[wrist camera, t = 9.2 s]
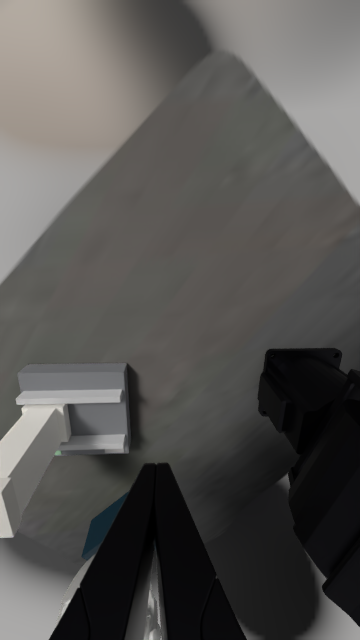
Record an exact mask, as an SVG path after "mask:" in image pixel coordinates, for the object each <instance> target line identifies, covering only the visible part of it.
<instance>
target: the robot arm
mask: <svg viewBox="0 0 360 640" xmlns="http://www.w3.org/2000/svg"><path fill="white" fill-rule="evenodd" d="M273 353H274V356H273V357H270V356H271V354H273ZM335 353H336V355H335V356H333V355H334V354H335ZM341 358H342V352H341V351H340V350H338V349H336V348H306V349H269V350H268V351H267V352H266V354H265V362H264V369H263V373H262V374H261V376H260V383H259V391H258V400H259V408H258V411H259V413H260V414H261V415H262V416H268V417H269V418H270V420H271V422H272V423H273V425H274V426H275V428H276V430H277V431H278V432H279V433H284V434H285V435H286V437H287V438H288V440H289V441H290V443H291V445H292V446H293V448H294V449H295V451H296V452H297V454H302V455H301V456H300V458H299V460H298V461H297V463H296V465H295V466H294V467H292V468H291V469H290V471H289V473H288V476H289V482H290V487H291V488H290V489H289V506H290V509H291V512H292V515H293V519H294V521H295V525H294V526H293V529H294V532H295V534H296V536H297V538H298V540H299V541H300V543H301V545H302V547H303V548H304V550H305V552H306V553H307V555H308V556H309V557H310V559H311V560H312V562H313V563H314V564H315V566H316V567H317V569H318V570H319V571H320V572H321V573H322V574H323V575H324V576H325V578H326V579H327V580H326V581H325V583H324V584H323V585H322V589H323V592H324V593H325V595H326V596H327V597H328V598H329V599H331V600H332V601H333V602H334V603H335V604H336V605H338V606H339V607H340V608H341V609H342V610H343V611H345V612H346V613H347V614H348V615H349V616H350V617H351V618H352V619H353V620H354V621H355V622H356V623H357V625H358V626H359V627H360V371H357V370H354V369H351V370H350V371H349V373H348V375H347V374H345V373H344V372H343V371H341V370H340V369H339V366H340V362H341ZM263 410H265V411H263ZM155 547H156V564H157V576H158V592H159V607H160V621H161V636H162V640H247V639H246V637H245V635H244V633H243V631H242V629H241V627H240V625H239V623H238V621H237V619H236V617H235V614H234V612H233V610H232V608H231V606H230V604H229V601H228V599H227V597H226V595H225V592H224V590H223V588H222V585H221V583H220V581H219V579H218V578H217V574H216V572H215V570H214V567H213V565H212V563H211V560H210V558H209V556H208V553H207V551H206V549H205V547H204V544H203V542H202V539H201V537H200V535H199V532H198V530H197V528H196V525H195V523H194V521H193V518H192V516H191V514H190V511H189V509H188V507H187V504H186V502H185V500H184V498H183V495H182V493H181V491H180V488H179V486H178V484H177V481H176V479H175V477H174V474H173V472H172V470H171V467H170V465H169V464H168V463H157V465H156V464H155V463H145V464H144V465H143V466H142V468H141V470H140V472H139V474H138V475H137V477H136V479H135V481H134V483H133V485H132V487H131V489H130V490H129V492H128V494H127V496H126V498H125V500H124V502H123V504H122V505H121V507H120V509H119V511H118V513H117V515H116V517H115V518H114V520H113V522H112V524H111V526H110V528H109V530H108V532H107V533H106V535H105V537H104V539H103V541H102V543H101V545H100V547H99V548H98V550H97V552H96V554H95V556H94V558H93V560H92V562H91V563H90V565H89V567H88V569H87V571H86V573H85V575H84V577H83V578H82V580H81V582H80V588H79V587H78V588H77V589H76V591H75V593H74V595H73V597H72V599H71V601H70V603H69V604H68V606H67V608H66V610H65V612H64V613H63V615H62V617H61V619H60V621H59V622H58V624H57V626H56V628H55V630H54V631H53V633H52V635H51V637H50V639H49V640H144V632H145V624H146V615H147V607H148V599H149V590H150V582H151V574H152V566H153V557H154V548H155Z"/></svg>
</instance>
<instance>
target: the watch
mask: <svg viewBox="0 0 360 640" xmlns="http://www.w3.org/2000/svg"><path fill="white" fill-rule="evenodd" d="M127 494H128V492H127V493H126V494H125V495H123V496H122V497H121V498H120V499H118V500H117V501H116V502H114V503H113V504H112V505H111V506H109V507H108V508H107V509H105V510H104V511H103V512H102V513H100V514H99V515H98V516H96V517H95V518H94V519H93V520H92V521H91V524H90V528H89V532H88V535H87V539H86V543H85V546H84V550H83V554H82V558H84V559H86V560H87V562H86V563H85V564H84V565H83V566H82V568H81V569H80V570H79V572H78V573H77V574H76V576H75V577H74V579H73V580H72V582H71V584H70V586H69V587H68V589H67V591H66V593H65V595H64V597H63V599H62V601H61V604H62V606H61V609H60V611H59V616H58V619H57V623H56V626H57V624H58V622H59V621H60V619H61V617H62V615H63V613H64V612H65V610H66V608H67V606H68V604H69V603H70V601H71V599H72V597H73V595H74V593H75V591H76V589H77V588H78V587H79V588H80V582H81V580H82V578H83V577H84V575H85V573H86V571H87V569H88V567H89V565H90V563H91V562H92V560H93V558H94V556H95V554H96V552H97V550H98V548H99V547H100V545H101V543H102V541H103V539H104V537H105V535H106V533H107V532H108V530H109V528H110V526H111V524H112V522H113V520H114V518H115V517H116V515H117V513H118V511H119V509H120V507H121V505H122V504H123V502H124V500H125V498H126V496H127ZM155 549H156V547H155V548H154V550H155ZM151 589H152V586H151V582H150V591H149V599H148V607H147V615H146V624H145V632H144V640H160V638H161V629H160V626H159V624H158V622H157V621H158V619H157V618H158V617H157V616H158V614H157V601H156V600H155V598H154V595H153V590H151Z"/></svg>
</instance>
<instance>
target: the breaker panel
mask: <svg viewBox="0 0 360 640" xmlns="http://www.w3.org/2000/svg"><path fill="white" fill-rule="evenodd" d="M17 375H18V380H19V384H20V389H21V394H20V395H19V396H18V397H17V398H16V402H17V405H26V404H67V406H68V413H69V420H70V427H71V436H70V438H69V440H68V442H61V443H60V445H59V447H58V449H57V451H56V453H55V455H54V456H65V455H94V454H123V453H129V449H130V443H131V429H130V411H129V394H128V376H127V363H83V364H28V365H27V366H25V367H24V368H23V369H22V370H21V371H20V372H18V373H17Z"/></svg>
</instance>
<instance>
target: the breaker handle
mask: <svg viewBox="0 0 360 640" xmlns="http://www.w3.org/2000/svg"><path fill="white" fill-rule="evenodd" d="M22 413H23V415H22V416H21V418H20V419H19V420H18V421H17V422H16V423H15V425H14V426H13V427H12V428H11V429H10V430H9V432H8V433H7V434H6V435H5V436H4V437H3V439H2V440H1V441H0V538H8V537H14V535H15V533H16V532H17V530H18V528H19V526H20V524H21V522H22V518H21V516H22V514H23V512H24V510H25V508H26V506H27V504H28V503H29V501H30V499H31V497H32V495H33V493H34V491H35V490H36V488H37V486H38V484H39V482H40V480H41V479H42V477H43V475H44V473H45V471H46V469H47V467H48V466H49V464H50V462H51V460H52V458H53V456H54V455H55V453H56V451H57V449H58V447H59V445H60V443H61V442H68V440H69V438H70V436H71V427H70V420H69V413H68V406H67V404H26V405H24V406H23V407H22Z"/></svg>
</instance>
